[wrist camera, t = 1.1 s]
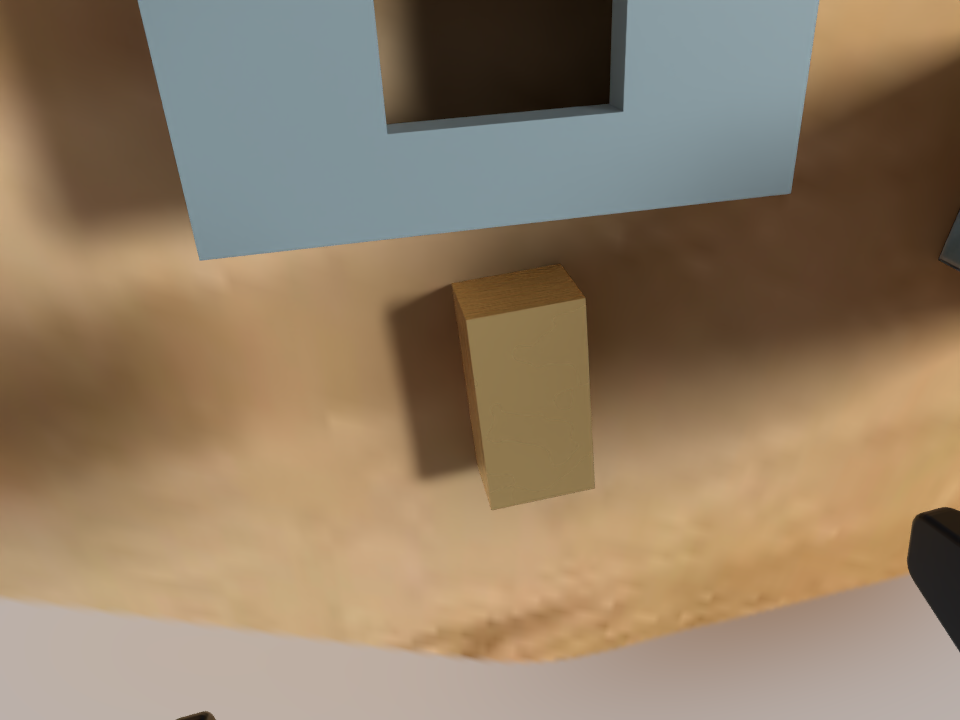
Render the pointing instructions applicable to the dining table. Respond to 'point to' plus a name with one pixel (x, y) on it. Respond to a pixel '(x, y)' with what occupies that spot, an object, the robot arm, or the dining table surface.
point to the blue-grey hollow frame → (465, 124)
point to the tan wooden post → (527, 383)
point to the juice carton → (952, 246)
